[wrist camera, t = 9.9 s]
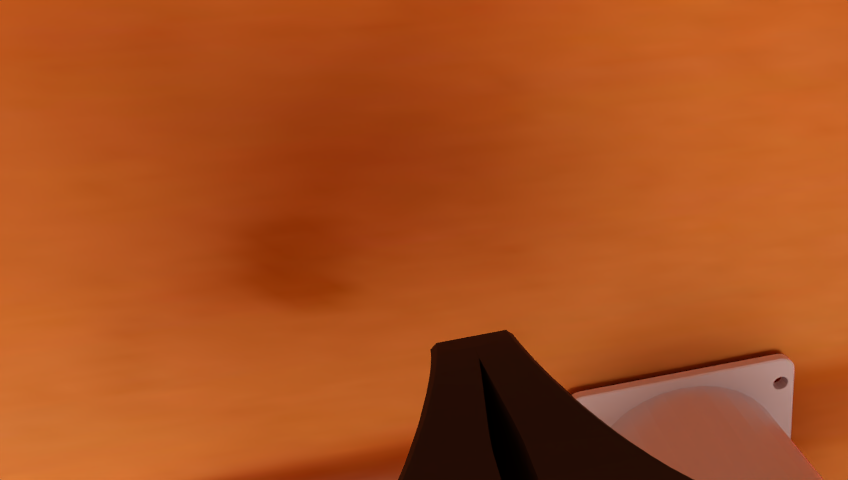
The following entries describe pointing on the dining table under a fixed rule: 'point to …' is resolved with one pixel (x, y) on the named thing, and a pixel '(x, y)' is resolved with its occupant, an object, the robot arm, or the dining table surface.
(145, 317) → the dining table surface
